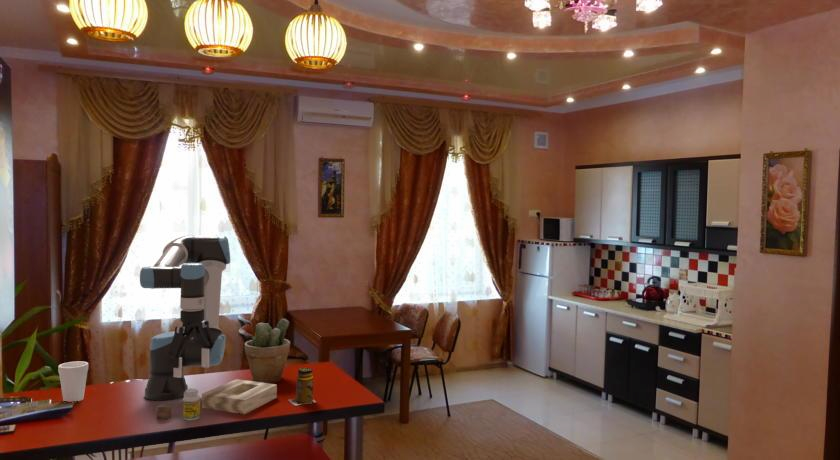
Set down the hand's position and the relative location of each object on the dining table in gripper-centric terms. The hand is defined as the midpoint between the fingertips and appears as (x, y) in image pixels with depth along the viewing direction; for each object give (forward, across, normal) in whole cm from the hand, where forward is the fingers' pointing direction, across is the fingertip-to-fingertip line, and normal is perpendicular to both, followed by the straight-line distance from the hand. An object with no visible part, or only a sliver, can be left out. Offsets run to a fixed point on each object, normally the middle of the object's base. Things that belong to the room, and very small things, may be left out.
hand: (191, 372), depth 204 cm
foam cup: (+16, -1, +52) cm, 55 cm away
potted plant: (+16, +49, +3) cm, 52 cm away
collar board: (+16, +20, -5) cm, 26 cm away
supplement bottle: (+16, 0, 0) cm, 16 cm away
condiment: (+16, +30, -25) cm, 42 cm away
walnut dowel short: (+16, -3, +9) cm, 18 cm away
